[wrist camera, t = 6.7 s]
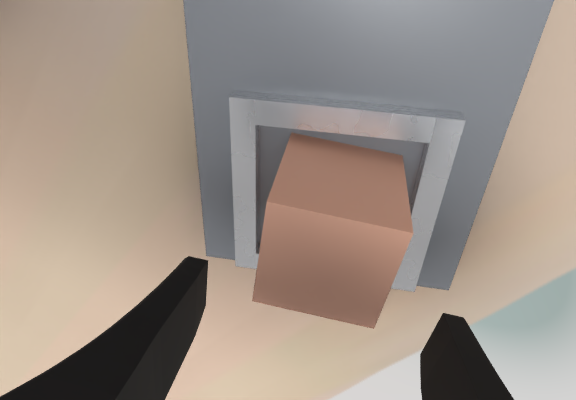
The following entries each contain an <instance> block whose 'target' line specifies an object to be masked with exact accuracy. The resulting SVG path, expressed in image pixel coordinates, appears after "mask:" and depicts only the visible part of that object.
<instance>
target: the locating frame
mask: <svg viewBox="0 0 576 400" xmlns="http://www.w3.org/2000/svg"><path fill="white" fill-rule="evenodd" d="M229 110H230V136H231V161H232V186H233V212H234V237H235V263H236V266H238V267H245V268H252V269H257V265H258V258H259V251H260V244H261V243H259V226H260V125H261V126H271V127H280V128H290V129H299V130H309V131H318V132H328V133H337V134H347V135H356V136H366V137H375V138H385V139H394V140H404V141H413V142H423V143H425V145H424V149H423V153H422V157H421V161H420V165H419V169H418V173H417V177H416V181H415V185H414V189H413V193H412V197H411V202H410V212H411V219H412V226H413V236H412V238H411V241H410V243H409V245H408V248H407V250H406V253H405V255H404V257H403V260H402V262H401V265H400V267H399V270H398V272H397V274H396V277H395V279H394V282H393V284H392V286H391V288H392V289H399V290H406V291H413V292H415V288H416V285H417V282H418V278H419V275H420V272H421V268H422V265H423V262H424V258H425V255H426V252H427V248H428V245H429V242H430V238H431V235H432V232H433V228H434V225H435V222H436V218H437V215H438V212H439V208H440V205H441V202H442V198H443V195H444V191H445V188H446V185H447V181H448V178H449V175H450V171H451V168H452V165H453V161H454V158H455V155H456V151H457V148H458V145H459V141H460V138H461V135H462V131H463V128H464V125H465V121H466V120H465V118H464V116H463V114H462V112H458V111H448V110H438V109H427V108H417V107H407V106H396V105H386V104H376V103H365V102H355V101H345V100H334V99H324V98H314V97H304V96H293V95H283V94H273V93H262V92H252V91H242V90H234V91H233V93H232V94H231V95H230V96H229Z"/></svg>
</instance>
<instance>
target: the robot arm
mask: <svg viewBox="0 0 576 400" xmlns="http://www.w3.org/2000/svg"><path fill="white" fill-rule="evenodd" d="M207 271H208V260H203V259H199V258H194V257H190V256H188V257H187V258H185V259H184V260H183V261H182V262H181V263H180V264H179V265H178V267H177V268H176V269H175V270H174V271H173V272H172V273H171V274H170V275H169V276H168V277H167V278H166V279H165V280H164V281H163V282H162V283H161V284H160V285H159V286H158V287H156V288H155V289H154V290H153V291H152V292H151V293H150V294H149V295H148V296H147V297H146V298H144V299H143V300H142V301H141V302H140V303H139V304H138V305H137V306H136V307H134V308H133V309H132V310H131V311H130V312H128V313H127V314H126V315H125V316H123V317H122V318H121V319H120V320H119V321H117V322H116V323H115V324H114V325H112V326H111V327H110V328H109V329H107V330H106V331H105V332H103V333H102V334H101V335H99V336H98V337H97V338H95V339H94V340H92V341H91V342H90V343H88V344H87V345H85V346H84V347H83V348H81V349H80V350H78V351H77V352H75V353H74V354H72V355H70V356H69V357H67V358H66V359H64V360H63V361H61V362H60V363H58V364H57V365H55V366H53V367H52V368H50V369H49V370H47V371H45V372H44V373H42V374H40V375H38V376H37V377H35V378H33V379H31V380H29V381H28V382H26V383H24V384H22V385H21V386H19V387H17V388H15V389H13V390H12V391H10V392H8V393H6V394H4V395H2V396H1V397H0V400H165V398H166V396H167V394H168V392H169V390H170V388H171V386H172V384H173V381H174V379H175V377H176V375H177V373H178V371H179V369H180V367H181V365H182V363H183V361H184V358H185V356H186V354H187V352H188V350H189V348H190V346H191V344H192V342H193V339H194V337H195V335H196V332H197V329H198V326H199V324H200V321H201V318H202V315H203V312H204V309H205V306H206V290H207ZM420 357H421V360H420V363H421V364H420V365H421V367H420V368H421V393H422V400H514V399H513V397H512V396H511V394H510V393H509V391H508V390H507V388H506V387H505V385H504V384H503V382H502V380H501V379H500V377H499V376H498V374H497V372H496V371H495V369H494V368H493V366H492V364H491V363H490V361H489V359H488V358H487V356H486V354H485V353H484V351H483V349H482V348H481V346H480V344H479V342H478V341H477V339H476V338H475V336H474V334H473V332H472V331H471V329H470V327H469V326H468V324H467V322H466V321H465V319H464V318H463V317H459V316H454V315H450V314H446V313H443V314H442V316H441V318H440V320H439V322H438V323H437V325H436V327H435V329H434V331H433V332H432V334H431V336H430V338H429V340H428V342H427V343H426V345H425V347H424V349H423V351H422V352H421V356H420Z"/></svg>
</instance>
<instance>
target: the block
mask: <svg viewBox="0 0 576 400" xmlns="http://www.w3.org/2000/svg"><path fill="white" fill-rule="evenodd" d="M412 236H413V226H412V219H411V212H410V205H409V197H408V190H407V183H406V176H405V169H404V162H403V155H398V154H393V153H388V152H384V151H379V150H374V149H369V148H364V147H359V146H355V145H350V144H345V143H340V142H335V141H330V140H326V139H321V138H316V137H311V136H306V135H301V134H297V133H292V132H291V135H290V138H289V141H288V144H287V146H286V149H285V152H284V155H283V157H282V160H281V163H280V166H279V169H278V171H277V174H276V177H275V180H274V183H273V185H272V188H271V191H270V194H269V196H268V199H267V203H266V209H265V216H264V223H263V230H262V237H261V244H260V251H259V258H258V265H257V272H256V278H255V285H254V292H253V299H252V301H254V302H259V303H263V304H267V305H272V306H276V307H281V308H285V309H289V310H294V311H298V312H303V313H307V314H311V315H316V316H320V317H325V318H329V319H334V320H338V321H342V322H347V323H351V324H356V325H360V326H364V327H369V328H373V329H374V327H375V325H376V323H377V320H378V318H379V315H380V313H381V311H382V308H383V306H384V303H385V301H386V298H387V296H388V294H389V291H390V289H391V286H392V284H393V282H394V279H395V277H396V274H397V272H398V270H399V267H400V265H401V262H402V260H403V257H404V255H405V253H406V250H407V248H408V245H409V243H410V241H411V238H412Z"/></svg>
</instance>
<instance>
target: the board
mask: <svg viewBox="0 0 576 400" xmlns="http://www.w3.org/2000/svg"><path fill="white" fill-rule="evenodd" d="M183 2H184V13H185V24H186V36H187V47H188V58H189V69H190V80H191V91H192V102H193V113H194V124H195V135H196V146H197V157H198V168H199V179H200V190H201V201H202V212H203V223H204V234H205V245H206V256H210V257H217V258H225V259H232V260H235V237H234V212H233V186H232V161H231V136H230V110H229V96H230V95H231V94H232V93H233V91H234V90H242V91H252V92H262V93H273V94H283V95H293V96H304V97H314V98H324V99H334V100H345V101H355V102H365V103H376V104H386V105H396V106H407V107H417V108H427V109H438V110H448V111H458V112H462V114H463V116H464V118H465V120H466V121H465V125H464V128H463V131H462V135H461V138H460V141H459V145H458V148H457V151H456V155H455V158H454V161H453V165H452V168H451V171H450V175H449V178H448V181H447V185H446V188H445V191H444V195H443V198H442V202H441V205H440V208H439V212H438V215H437V218H436V222H435V225H434V228H433V232H432V235H431V238H430V242H429V245H428V248H427V252H426V255H425V258H424V262H423V265H422V268H421V272H420V275H419V278H418V282H417V285H416V286H422V287H430V288H437V289H444V290H449V288H450V285H451V282H452V280H453V277H454V274H455V271H456V269H457V266H458V263H459V260H460V258H461V255H462V252H463V249H464V247H465V244H466V241H467V238H468V236H469V233H470V230H471V227H472V225H473V222H474V219H475V216H476V214H477V211H478V208H479V205H480V203H481V200H482V197H483V194H484V192H485V189H486V186H487V183H488V181H489V178H490V175H491V172H492V170H493V167H494V164H495V161H496V159H497V156H498V153H499V150H500V148H501V145H502V142H503V139H504V137H505V134H506V131H507V128H508V126H509V123H510V120H511V117H512V115H513V112H514V109H515V106H516V104H517V101H518V98H519V95H520V93H521V90H522V87H523V84H524V82H525V79H526V76H527V73H528V71H529V68H530V65H531V62H532V60H533V57H534V54H535V51H536V49H537V46H538V43H539V40H540V38H541V35H542V32H543V29H544V27H545V24H546V21H547V18H548V15H549V13H550V10H551V7H552V4H553V2H554V0H183ZM291 132H292V133H297V134H301V135H306V136H311V137H316V138H321V139H326V140H330V141H335V142H340V143H345V144H350V145H355V146H359V147H364V148H369V149H374V150H379V151H384V152H388V153H393V154H398V155H403V162H404V169H405V176H406V183H407V190H408V197H409V205H410V202H411V197H412V193H413V189H414V185H415V181H416V177H417V173H418V169H419V165H420V161H421V157H422V153H423V149H424V145H425V143H423V142H413V141H404V140H394V139H385V138H375V137H366V136H356V135H347V134H337V133H328V132H318V131H309V130H299V129H290V128H280V127H271V126H261V125H260V226H259V243H261V237H262V230H263V223H264V216H265V209H266V203H267V199H268V196H269V194H270V191H271V188H272V185H273V183H274V180H275V177H276V174H277V171H278V169H279V166H280V163H281V160H282V157H283V155H284V152H285V149H286V146H287V144H288V141H289V138H290V135H291Z"/></svg>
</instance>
